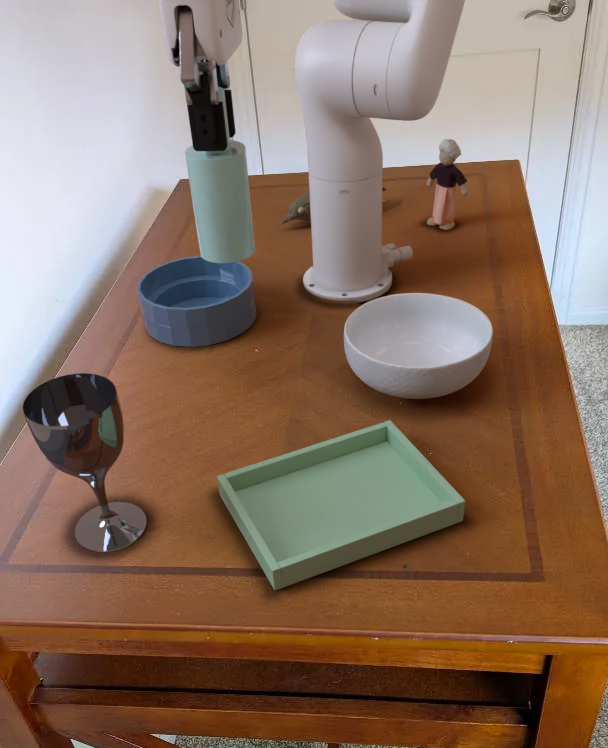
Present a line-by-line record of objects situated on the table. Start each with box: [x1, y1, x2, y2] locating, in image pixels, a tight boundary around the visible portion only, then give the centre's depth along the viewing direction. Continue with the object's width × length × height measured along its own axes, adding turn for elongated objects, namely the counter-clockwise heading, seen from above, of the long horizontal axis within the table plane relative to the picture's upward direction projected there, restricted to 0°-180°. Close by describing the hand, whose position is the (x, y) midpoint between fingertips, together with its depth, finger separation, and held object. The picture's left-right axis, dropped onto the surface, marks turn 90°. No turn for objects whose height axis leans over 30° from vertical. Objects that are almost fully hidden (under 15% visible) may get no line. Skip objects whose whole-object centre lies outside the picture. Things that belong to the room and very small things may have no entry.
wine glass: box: [22, 372, 148, 553], centre depth 71 cm, size 8×8×15 cm
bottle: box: [184, 87, 256, 263], centre depth 75 cm, size 6×6×15 cm
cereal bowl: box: [343, 292, 494, 400], centre depth 89 cm, size 17×17×7 cm
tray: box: [216, 419, 466, 591], centre depth 75 cm, size 20×15×3 cm
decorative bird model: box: [281, 186, 387, 225], centre depth 125 cm, size 5×20×5 cm, turn 117°
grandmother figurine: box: [426, 138, 470, 231], centre depth 117 cm, size 8×4×13 cm, turn 55°
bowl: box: [136, 255, 258, 348], centre depth 102 cm, size 15×15×6 cm
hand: (214, 141), depth 73 cm, fingers closed on bottle, 3 cm apart
